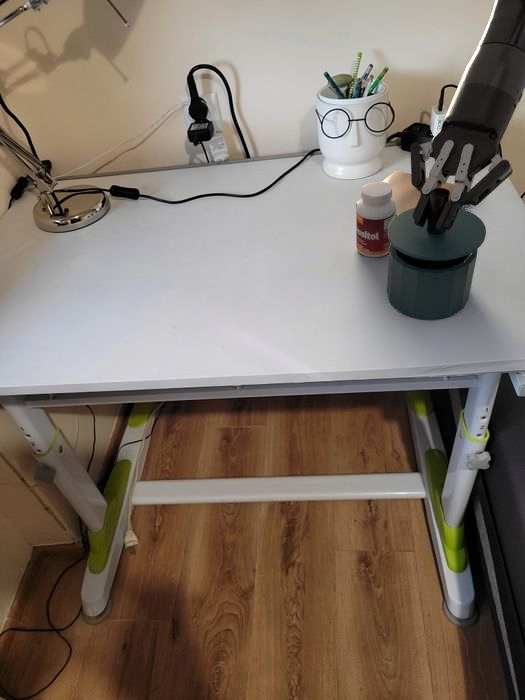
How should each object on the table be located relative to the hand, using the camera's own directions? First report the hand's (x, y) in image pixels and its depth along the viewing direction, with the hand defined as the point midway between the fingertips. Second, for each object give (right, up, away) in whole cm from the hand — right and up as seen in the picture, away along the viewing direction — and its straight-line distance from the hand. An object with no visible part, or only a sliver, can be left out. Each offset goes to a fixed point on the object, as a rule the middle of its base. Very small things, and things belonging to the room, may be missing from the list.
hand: (429, 227), depth 66 cm
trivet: (+6, +12, +28) cm, 31 cm away
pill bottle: (-3, +1, +20) cm, 20 cm away
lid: (+2, 0, +2) cm, 3 cm away
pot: (+3, -8, +10) cm, 13 cm away
